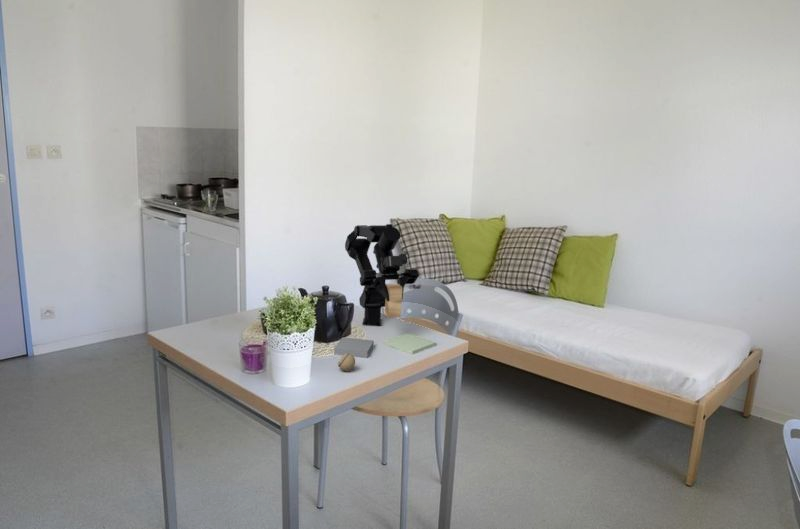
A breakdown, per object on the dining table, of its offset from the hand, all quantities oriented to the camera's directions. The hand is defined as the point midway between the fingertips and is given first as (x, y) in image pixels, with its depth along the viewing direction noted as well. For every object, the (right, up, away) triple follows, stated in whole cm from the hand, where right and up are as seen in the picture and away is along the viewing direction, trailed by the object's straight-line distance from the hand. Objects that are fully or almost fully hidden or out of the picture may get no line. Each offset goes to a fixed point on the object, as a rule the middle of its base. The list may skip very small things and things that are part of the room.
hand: (395, 300), depth 191 cm
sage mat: (+5, -14, +2) cm, 15 cm away
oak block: (-1, -5, +2) cm, 6 cm away
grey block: (-12, -15, -6) cm, 20 cm away
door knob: (-14, -18, -22) cm, 32 cm away
